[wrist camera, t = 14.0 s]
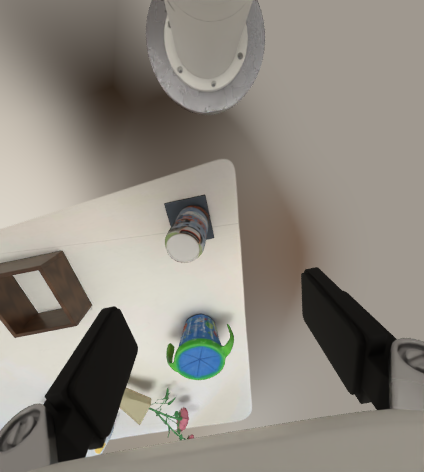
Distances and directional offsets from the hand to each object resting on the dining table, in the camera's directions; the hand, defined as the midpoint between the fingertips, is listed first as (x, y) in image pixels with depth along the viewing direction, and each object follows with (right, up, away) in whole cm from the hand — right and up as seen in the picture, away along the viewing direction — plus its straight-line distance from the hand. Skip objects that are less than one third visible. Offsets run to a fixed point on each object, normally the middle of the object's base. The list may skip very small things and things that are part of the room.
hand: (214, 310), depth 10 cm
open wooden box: (-36, -7, +34) cm, 50 cm away
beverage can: (-4, +7, +29) cm, 31 cm away
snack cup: (-3, -18, +40) cm, 44 cm away
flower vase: (-19, -39, +47) cm, 64 cm away
